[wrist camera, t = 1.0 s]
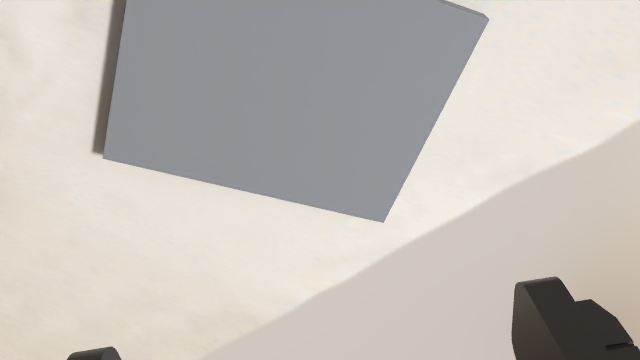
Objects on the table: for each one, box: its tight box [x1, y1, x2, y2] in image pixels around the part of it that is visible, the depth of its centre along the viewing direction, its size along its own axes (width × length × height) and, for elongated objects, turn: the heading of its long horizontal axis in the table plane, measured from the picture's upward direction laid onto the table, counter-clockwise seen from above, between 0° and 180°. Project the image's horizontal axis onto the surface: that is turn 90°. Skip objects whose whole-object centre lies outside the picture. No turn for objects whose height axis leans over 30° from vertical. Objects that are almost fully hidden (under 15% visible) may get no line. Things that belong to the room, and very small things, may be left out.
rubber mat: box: [103, 0, 489, 223], centre depth 34 cm, size 16×20×1 cm
